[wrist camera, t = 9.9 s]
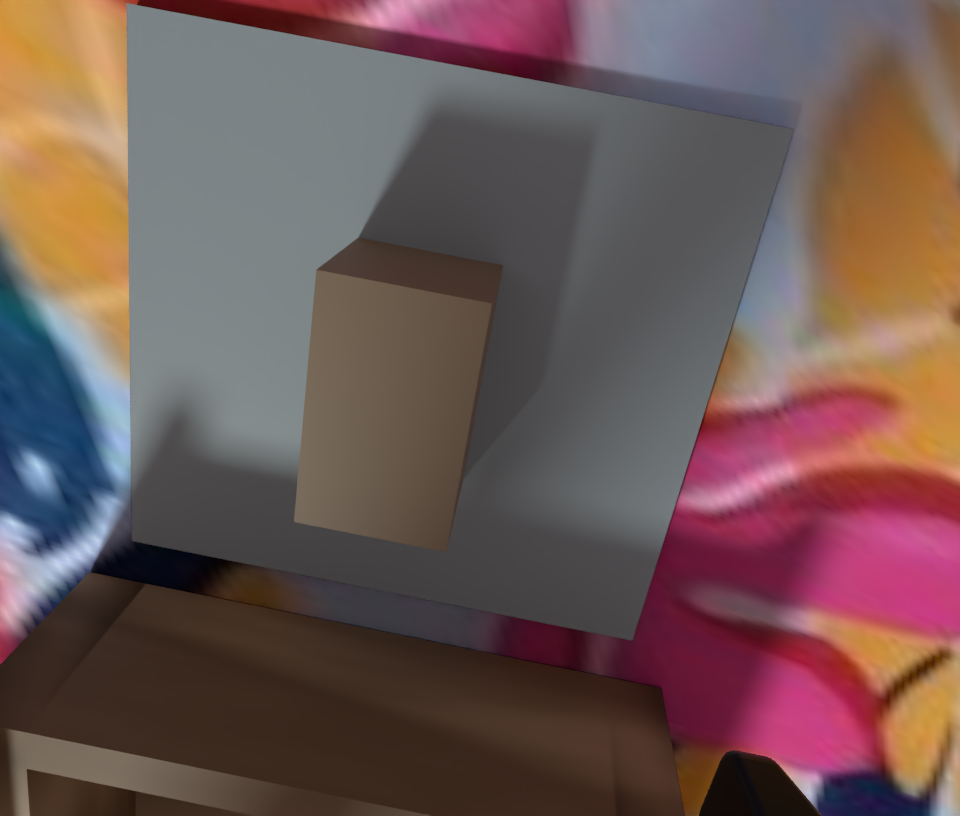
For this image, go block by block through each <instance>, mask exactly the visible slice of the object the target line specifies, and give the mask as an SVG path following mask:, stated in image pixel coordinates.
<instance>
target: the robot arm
mask: <svg viewBox="0 0 960 816" xmlns="http://www.w3.org/2000/svg"><path fill="white" fill-rule="evenodd" d="M699 816H822V815H821V814H820V813H819V812H818V811H817V809H816V808H815V807H814V806H813V805H812V803H811V802H810V801H809V800H808V799H807V798H806V796H805V795H804V794H803V793H802V792H801V791H800V789H799V788H798V787H797V786H796V785H795V783H794V782H793V781H792V780H791V779H790V778H789V776H788V775H787V774H786V773H785V772H784V771H783V769H782V768H781V767H780V766H779V765H778V764H777V763H776V762H775V761H774V760H772V759H770V758H768V757H765V756H760V755H755V754H751V753H746V752H741V751H735V750H734V751H729V752H727V753H726V754H725V755H724V756H723V758H722V759H721V761H720V763H719V766H718V768H717V771H716V773H715V776H714V778H713V781H712V783H711V785H710V788H709V790H708V793H707V795H706V798H705V800H704V802H703V805H702V807H701V810H700V814H699Z"/></svg>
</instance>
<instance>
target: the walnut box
mask: <svg viewBox="0 0 960 816" xmlns="http://www.w3.org/2000/svg"><path fill="white" fill-rule="evenodd" d="M0 816H685V813H684V807H683V802H682V797H681V791H680V786H679V780H678V775H677V770H676V764H675V759H674V753H673V748H672V743H671V737H670V732H669V726H668V721H667V716H666V710H665V705H664V699H663V694H662V689H661V688H658V687H654V686H649V685H644V684H639V683H634V682H629V681H624V680H619V679H614V678H609V677H604V676H599V675H594V674H589V673H584V672H580V671H575V670H570V669H565V668H560V667H555V666H550V665H545V664H540V663H535V662H530V661H525V660H520V659H515V658H510V657H506V656H501V655H496V654H491V653H486V652H481V651H476V650H471V649H466V648H461V647H456V646H451V645H446V644H441V643H436V642H432V641H427V640H422V639H417V638H412V637H407V636H402V635H397V634H392V633H387V632H382V631H377V630H372V629H367V628H362V627H358V626H353V625H348V624H343V623H338V622H333V621H328V620H323V619H318V618H313V617H308V616H303V615H298V614H293V613H288V612H284V611H279V610H274V609H269V608H264V607H259V606H254V605H249V604H244V603H239V602H234V601H229V600H224V599H219V598H214V597H210V596H205V595H200V594H195V593H190V592H185V591H180V590H175V589H170V588H165V587H160V586H155V585H150V584H145V583H140V582H136V581H131V580H126V579H121V578H116V577H111V576H106V575H101V574H96V573H91V572H89V573H88V574H87V575H86V576H85V577H84V578H83V580H82V581H81V582H80V583H79V584H78V585H77V586H76V587H75V588H74V589H73V590H72V591H71V592H70V593H69V594H68V595H67V596H66V597H65V598H64V599H63V600H62V601H61V602H60V603H59V604H58V605H57V607H56V608H55V609H54V610H53V611H52V612H51V613H50V614H49V615H48V616H47V617H46V618H45V619H44V620H43V621H42V622H41V623H40V624H39V625H38V626H37V627H36V628H35V629H34V630H33V631H32V632H31V634H30V635H29V636H28V637H27V638H26V639H25V640H24V641H23V642H22V643H21V644H20V645H19V646H18V647H17V648H16V649H15V650H14V651H13V652H12V653H11V654H10V655H9V656H8V657H7V658H6V659H5V661H4V662H3V663H2V664H1V665H0Z"/></svg>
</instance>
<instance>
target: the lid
mask: <svg viewBox="0 0 960 816" xmlns="http://www.w3.org/2000/svg"><path fill="white" fill-rule="evenodd" d="M127 91H128V200H129V309H130V418H131V527H132V541H134V542H139V543H144V544H149V545H154V546H159V547H164V548H169V549H175V550H180V551H185V552H190V553H195V554H200V555H205V556H210V557H215V558H220V559H225V560H230V561H235V562H240V563H245V564H250V565H255V566H260V567H265V568H270V569H275V570H280V571H285V572H290V573H295V574H300V575H305V576H310V577H315V578H320V579H325V580H330V581H335V582H340V583H345V584H350V585H355V586H360V587H365V588H370V589H375V590H380V591H385V592H390V593H395V594H400V595H405V596H410V597H415V598H420V599H425V600H430V601H435V602H440V603H445V604H450V605H455V606H460V607H465V608H470V609H475V610H480V611H485V612H490V613H495V614H500V615H505V616H510V617H515V618H520V619H525V620H530V621H535V622H540V623H545V624H550V625H555V626H560V627H565V628H570V629H575V630H581V631H586V632H591V633H596V634H601V635H606V636H611V637H616V638H621V639H626V640H631V641H632V640H633V637H634V634H635V631H636V628H637V625H638V621H639V618H640V615H641V612H642V609H643V606H644V602H645V599H646V596H647V593H648V590H649V587H650V583H651V580H652V577H653V574H654V571H655V568H656V564H657V561H658V558H659V555H660V552H661V549H662V545H663V542H664V539H665V536H666V533H667V530H668V526H669V523H670V520H671V517H672V514H673V510H674V507H675V504H676V501H677V498H678V495H679V491H680V488H681V485H682V482H683V479H684V476H685V472H686V469H687V466H688V463H689V460H690V457H691V453H692V450H693V447H694V444H695V441H696V438H697V434H698V431H699V428H700V425H701V422H702V419H703V415H704V412H705V409H706V406H707V403H708V400H709V396H710V393H711V390H712V387H713V384H714V381H715V377H716V374H717V371H718V368H719V365H720V362H721V358H722V355H723V352H724V349H725V346H726V343H727V339H728V336H729V333H730V330H731V327H732V324H733V320H734V317H735V314H736V311H737V308H738V305H739V301H740V298H741V295H742V292H743V289H744V286H745V282H746V279H747V276H748V273H749V270H750V267H751V263H752V260H753V257H754V254H755V251H756V248H757V244H758V241H759V238H760V235H761V232H762V229H763V225H764V222H765V219H766V216H767V213H768V210H769V206H770V203H771V200H772V197H773V194H774V191H775V187H776V184H777V181H778V178H779V175H780V172H781V168H782V165H783V162H784V159H785V156H786V153H787V149H788V146H789V143H790V140H791V137H792V133H793V130H794V129H793V128H787V127H782V126H777V125H771V124H766V123H761V122H755V121H750V120H745V119H739V118H734V117H729V116H723V115H718V114H713V113H708V112H702V111H697V110H692V109H686V108H681V107H676V106H670V105H665V104H660V103H654V102H649V101H644V100H638V99H633V98H628V97H622V96H617V95H612V94H607V93H601V92H596V91H591V90H585V89H580V88H575V87H569V86H564V85H559V84H553V83H548V82H543V81H537V80H532V79H527V78H521V77H516V76H511V75H506V74H500V73H495V72H490V71H484V70H479V69H474V68H468V67H463V66H458V65H452V64H447V63H442V62H436V61H431V60H426V59H420V58H415V57H410V56H405V55H399V54H394V53H389V52H383V51H378V50H373V49H367V48H362V47H357V46H351V45H346V44H341V43H335V42H330V41H325V40H319V39H314V38H309V37H304V36H298V35H293V34H288V33H282V32H277V31H272V30H266V29H261V28H256V27H250V26H245V25H240V24H234V23H229V22H224V21H218V20H213V19H208V18H203V17H197V16H192V15H187V14H181V13H176V12H171V11H165V10H160V9H155V8H149V7H144V6H139V5H133V4H128V3H127Z"/></svg>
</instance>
